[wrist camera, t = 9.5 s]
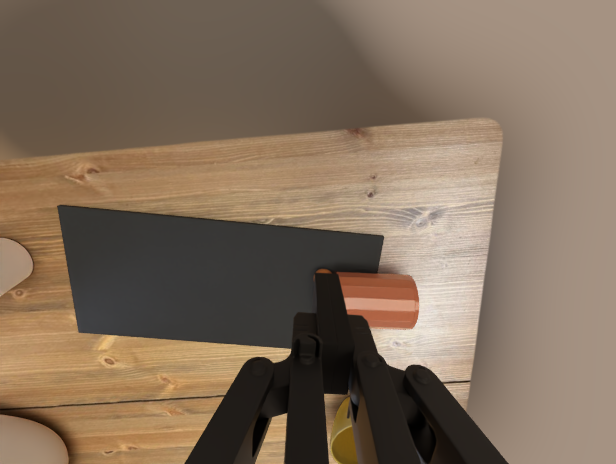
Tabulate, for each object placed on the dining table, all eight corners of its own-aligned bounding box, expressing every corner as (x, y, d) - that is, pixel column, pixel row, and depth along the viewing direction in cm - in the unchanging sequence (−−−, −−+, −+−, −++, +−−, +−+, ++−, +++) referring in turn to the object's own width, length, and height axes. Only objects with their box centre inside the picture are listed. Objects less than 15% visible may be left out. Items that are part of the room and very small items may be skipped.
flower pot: (342, 434, 52) (348, 479, 46) (316, 397, 50) (318, 439, 43) (393, 414, 51) (407, 456, 44) (369, 374, 48) (379, 413, 41)
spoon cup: (414, 267, 38) (338, 263, 37) (422, 324, 34) (339, 321, 34) (396, 283, 44) (331, 280, 44) (402, 332, 41) (331, 330, 40)
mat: (383, 235, 41) (384, 236, 40) (360, 351, 47) (361, 354, 46) (60, 204, 39) (57, 205, 38) (81, 330, 45) (78, 332, 44)
